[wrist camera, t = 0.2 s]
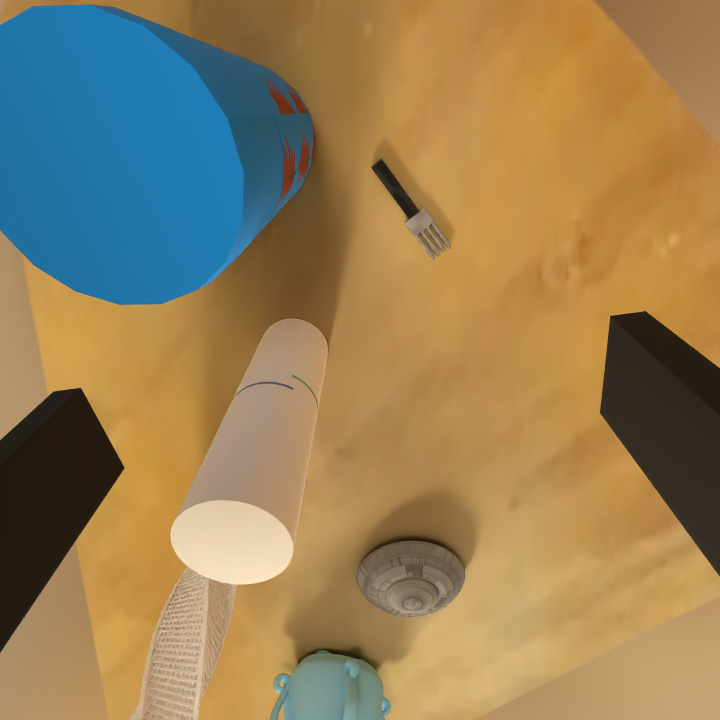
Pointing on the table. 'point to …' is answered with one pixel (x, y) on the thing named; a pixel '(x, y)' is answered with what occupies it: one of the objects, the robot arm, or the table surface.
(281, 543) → the cylindrical container
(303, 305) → the table surface
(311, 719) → the decorative pot
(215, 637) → the skyscraper
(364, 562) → the flying saucer
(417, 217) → the fork
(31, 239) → the thermos
